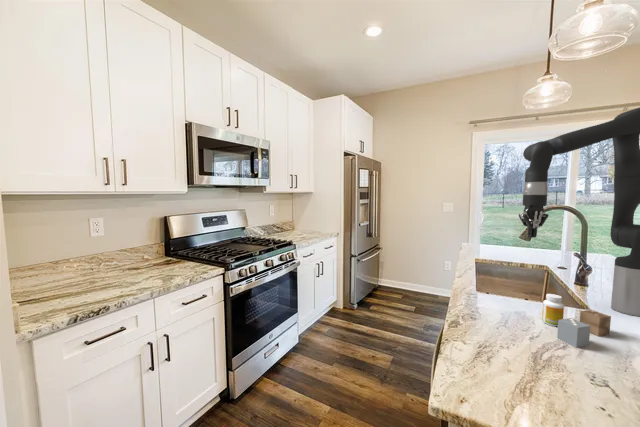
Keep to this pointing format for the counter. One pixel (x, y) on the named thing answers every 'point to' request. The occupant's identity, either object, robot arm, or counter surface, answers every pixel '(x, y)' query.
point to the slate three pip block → (573, 332)
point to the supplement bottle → (552, 309)
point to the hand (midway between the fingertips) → (532, 237)
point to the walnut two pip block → (596, 322)
